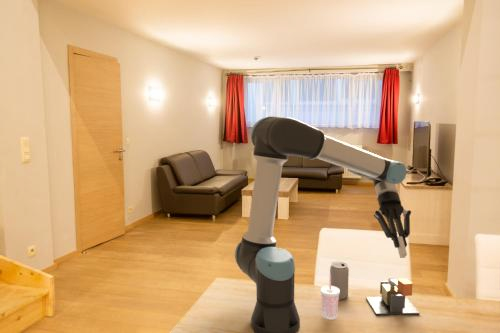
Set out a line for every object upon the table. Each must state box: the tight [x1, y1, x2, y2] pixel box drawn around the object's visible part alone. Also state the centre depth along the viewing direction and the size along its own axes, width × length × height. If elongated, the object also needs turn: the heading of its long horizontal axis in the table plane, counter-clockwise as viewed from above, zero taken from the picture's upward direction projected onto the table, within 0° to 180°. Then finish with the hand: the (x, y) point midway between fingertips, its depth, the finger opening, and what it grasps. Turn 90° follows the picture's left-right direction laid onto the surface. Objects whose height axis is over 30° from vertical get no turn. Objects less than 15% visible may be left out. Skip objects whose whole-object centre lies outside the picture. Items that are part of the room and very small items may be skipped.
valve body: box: [365, 280, 421, 317], centre depth 129 cm, size 14×11×8 cm
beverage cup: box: [320, 274, 340, 321], centre depth 124 cm, size 6×6×14 cm
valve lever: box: [387, 277, 414, 297], centre depth 125 cm, size 10×3×4 cm, turn 9°
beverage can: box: [329, 261, 350, 301], centre depth 137 cm, size 6×6×12 cm
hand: (403, 256), depth 127 cm, fingers closed
